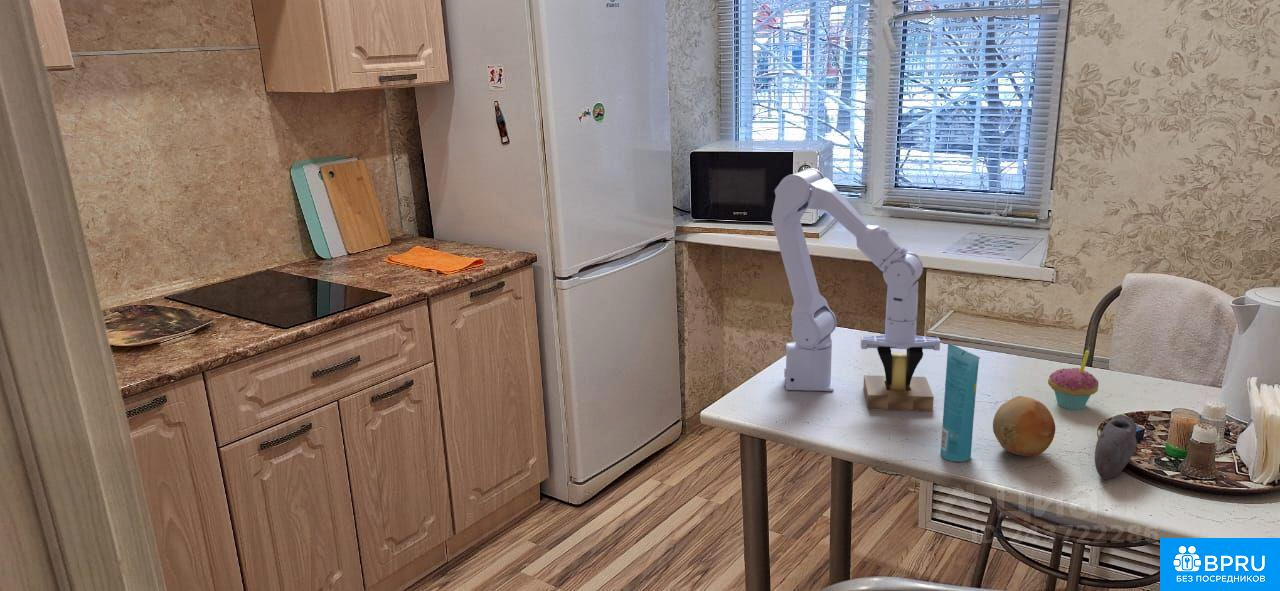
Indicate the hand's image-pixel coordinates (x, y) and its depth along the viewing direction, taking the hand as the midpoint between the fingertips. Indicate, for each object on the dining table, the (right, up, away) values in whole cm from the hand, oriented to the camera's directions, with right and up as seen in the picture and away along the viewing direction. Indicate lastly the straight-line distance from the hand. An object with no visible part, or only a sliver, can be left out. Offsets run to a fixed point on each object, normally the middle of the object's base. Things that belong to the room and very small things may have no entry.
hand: (897, 383), depth 170 cm
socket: (0, -3, +1) cm, 3 cm away
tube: (+3, -10, -22) cm, 24 cm away
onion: (+15, -10, -22) cm, 28 cm away
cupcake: (+32, -4, -4) cm, 32 cm away
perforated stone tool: (+27, -11, -27) cm, 40 cm away
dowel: (0, -2, +1) cm, 2 cm away
